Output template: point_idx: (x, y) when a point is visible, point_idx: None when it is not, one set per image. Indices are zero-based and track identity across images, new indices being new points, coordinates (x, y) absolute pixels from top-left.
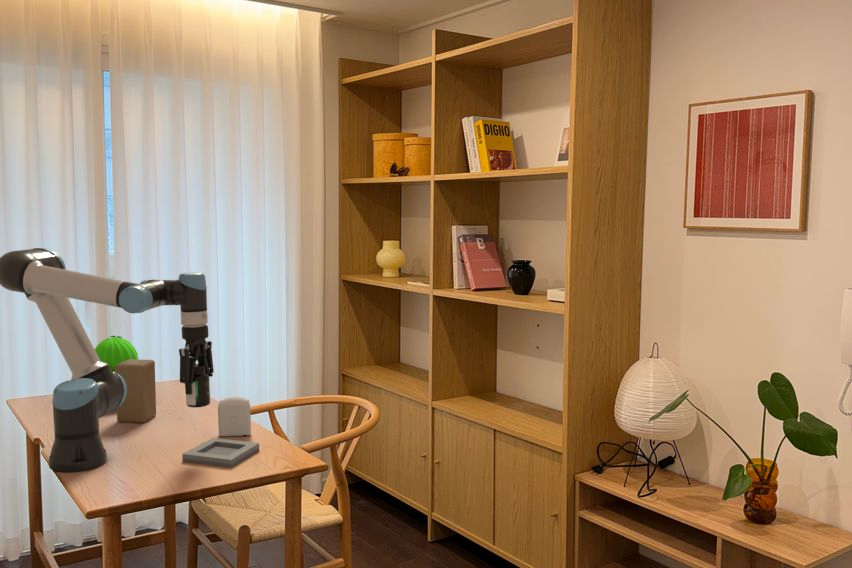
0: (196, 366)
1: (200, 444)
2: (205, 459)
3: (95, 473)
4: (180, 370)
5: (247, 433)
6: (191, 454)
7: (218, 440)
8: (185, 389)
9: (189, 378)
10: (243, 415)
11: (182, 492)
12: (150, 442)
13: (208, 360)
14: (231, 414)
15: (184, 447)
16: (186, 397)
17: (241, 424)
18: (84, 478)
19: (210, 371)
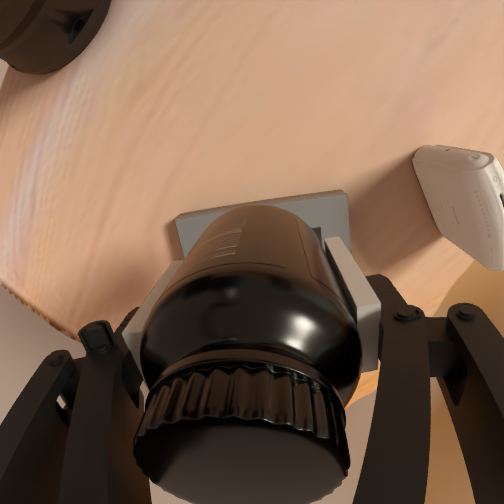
0: (183, 494)
1: (272, 204)
2: None
3: (31, 106)
4: (10, 419)
5: (441, 233)
6: (185, 246)
7: (331, 228)
8: (119, 327)
9: (143, 374)
10: (466, 245)
11: (74, 336)
12: (265, 4)
13: (474, 453)
14: (457, 212)
15: (280, 125)
16: (161, 281)
17: (448, 229)
18: (10, 117)
19: (440, 370)
